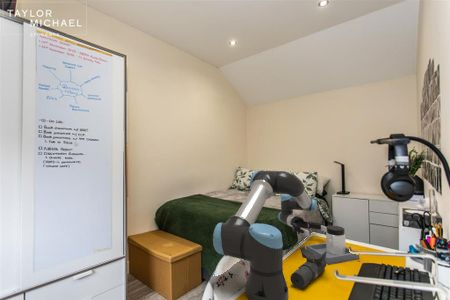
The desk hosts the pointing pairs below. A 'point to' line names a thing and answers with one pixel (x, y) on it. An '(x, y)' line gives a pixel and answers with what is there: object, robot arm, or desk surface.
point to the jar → (335, 240)
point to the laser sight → (308, 269)
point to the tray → (330, 258)
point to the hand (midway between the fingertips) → (319, 232)
